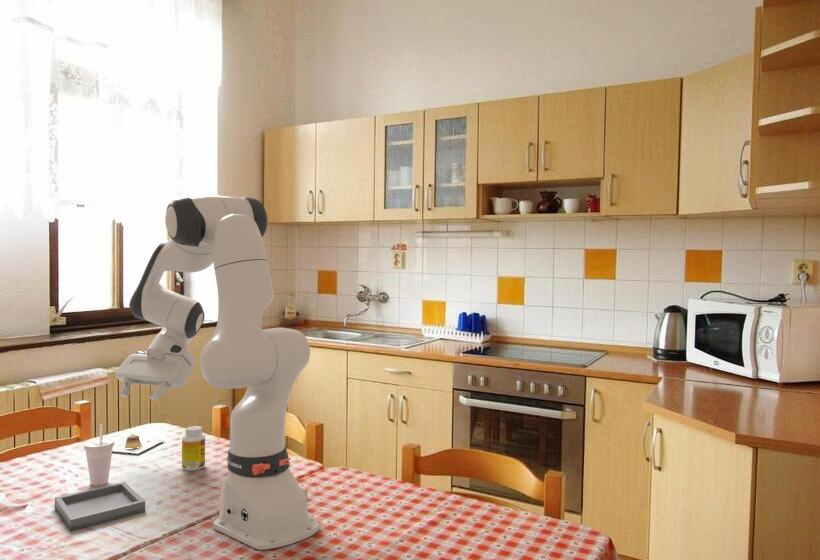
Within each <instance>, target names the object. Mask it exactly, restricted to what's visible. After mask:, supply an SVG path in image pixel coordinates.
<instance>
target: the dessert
mask: <svg viewBox="0 0 820 560" xmlns="http://www.w3.org/2000/svg"><path fill="white" fill-rule="evenodd" d="M125 440H126V442H125V443H124V444H125V445H124V447H125V448H137V447H140V446H142V447H143V445H142V442H141V441H140V440H149V441H150V440H151V441H158V442H159V443H160V444H161V442H162V443H163V442H165V440H164V439H158V438H155V439H154V438H146V437H145V438H143V437H140V436H139V435H135V433H134V432H130V434H129V436H128V437H126V438H123V439H121V440H118V441H116V442H114V445H117V444H119V443H121V442H123V441H125ZM159 443H154V444H153V445H151V446H149V447H147V448H145V449H143V450H141V451H139V452H133V451H119V450H112V453H117V452H121V453H120V454H128V453H131V454H130V455H139V454H141V452H142V453H144V452H146V451H147V449H148V450H149V448H150V449H151V447H152V448H154V447H156V446H158V445H160V444H159ZM157 444H158V445H157ZM155 445H156V446H155ZM153 446H154V447H153ZM125 448H124V449H125ZM140 448H141V447H140ZM137 449H138V448H137ZM145 450H146V451H145ZM143 451H144V452H143Z"/></svg>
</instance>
